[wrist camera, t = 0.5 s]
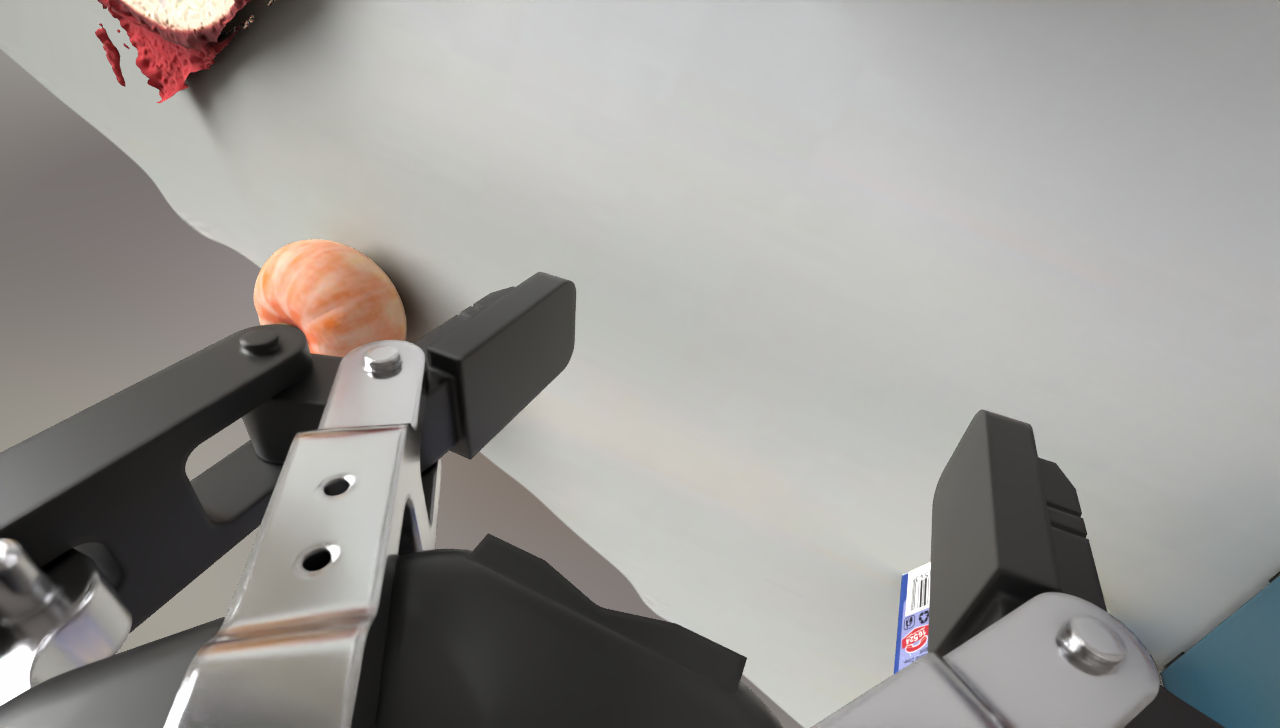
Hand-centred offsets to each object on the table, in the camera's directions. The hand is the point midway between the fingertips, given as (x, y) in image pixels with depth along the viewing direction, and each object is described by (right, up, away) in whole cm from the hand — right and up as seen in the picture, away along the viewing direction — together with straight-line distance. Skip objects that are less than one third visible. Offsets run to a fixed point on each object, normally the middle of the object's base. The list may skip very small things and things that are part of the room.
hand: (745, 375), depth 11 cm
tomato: (-22, +6, +33) cm, 40 cm away
